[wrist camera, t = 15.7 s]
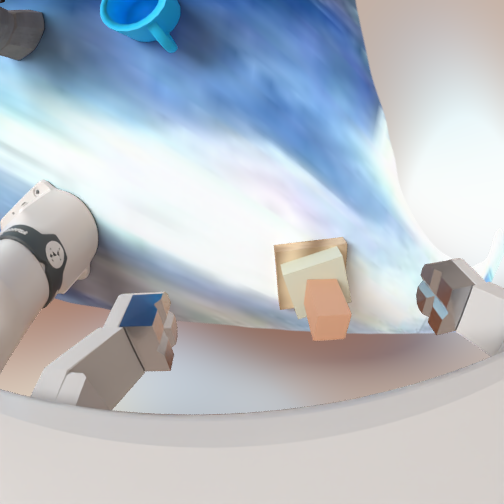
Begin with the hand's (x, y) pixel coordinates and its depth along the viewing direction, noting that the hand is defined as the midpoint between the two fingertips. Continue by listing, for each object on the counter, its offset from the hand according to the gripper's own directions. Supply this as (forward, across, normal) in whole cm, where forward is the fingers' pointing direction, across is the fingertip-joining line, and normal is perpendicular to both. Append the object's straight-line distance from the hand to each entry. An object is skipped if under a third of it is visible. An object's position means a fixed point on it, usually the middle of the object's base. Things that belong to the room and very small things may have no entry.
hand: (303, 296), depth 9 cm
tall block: (+29, -8, +22) cm, 37 cm away
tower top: (+32, -8, +22) cm, 39 cm away
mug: (+34, +11, -18) cm, 41 cm away
